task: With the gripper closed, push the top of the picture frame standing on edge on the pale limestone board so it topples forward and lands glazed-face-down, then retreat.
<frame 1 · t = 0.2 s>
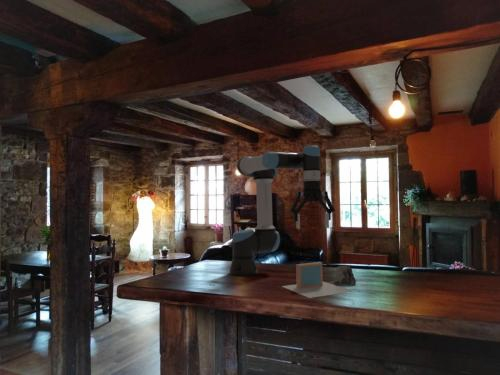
hand: (312, 228, 163), 27 cm above the worktop, fingers open, 13 cm apart
stone: (345, 285, 170), on the worktop
board: (316, 291, 159), on the worktop
picture frame: (309, 286, 163), point 1 cm above the worktop, touching board
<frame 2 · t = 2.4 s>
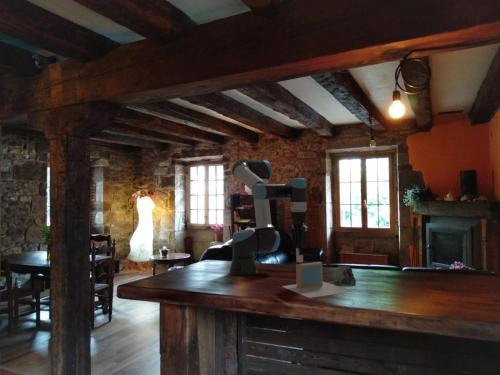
hand: (299, 261, 171), 11 cm above the worktop, fingers closed
nothing on the worktop moved.
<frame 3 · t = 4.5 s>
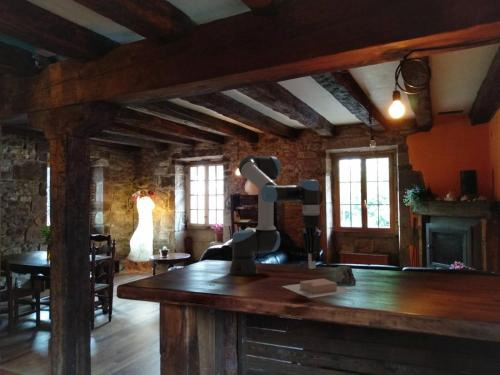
hand: (312, 268, 162), 10 cm above the worktop, fingers closed
picture frame: (311, 283, 162), point 3 cm above the worktop, tilted 90°, touching board
everything else where it was.
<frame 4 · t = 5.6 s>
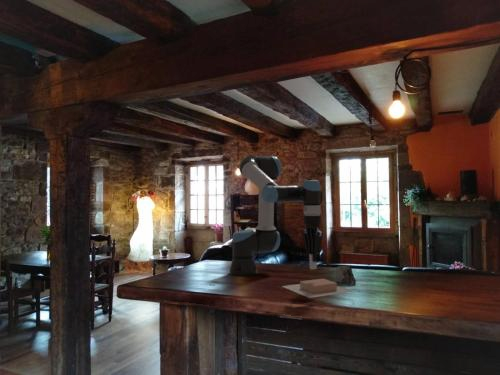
hand: (313, 268, 161), 9 cm above the worktop, fingers closed
nothing on the worktop moved.
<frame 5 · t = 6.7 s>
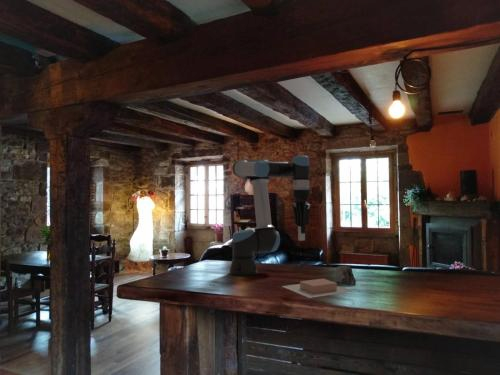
hand: (301, 240, 169), 21 cm above the worktop, fingers closed
nothing on the worktop moved.
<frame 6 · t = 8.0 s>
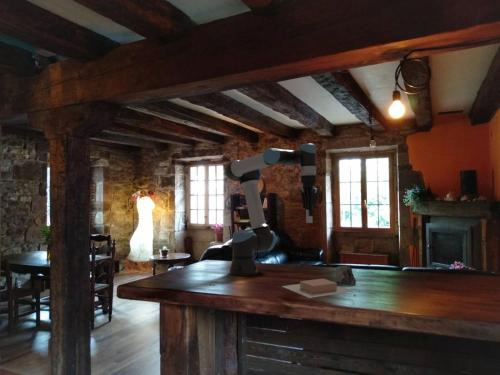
hand: (309, 222, 181), 28 cm above the worktop, fingers closed
nothing on the worktop moved.
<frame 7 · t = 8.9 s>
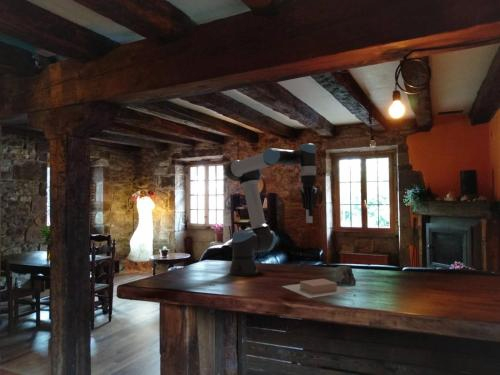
hand: (309, 222, 181), 28 cm above the worktop, fingers closed
nothing on the worktop moved.
at the end: picture frame tilted 90°; picture frame point 2.8 cm above the worktop; picture frame inside the target area (3.9 cm from its centre), point 2.8 cm above the worktop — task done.
